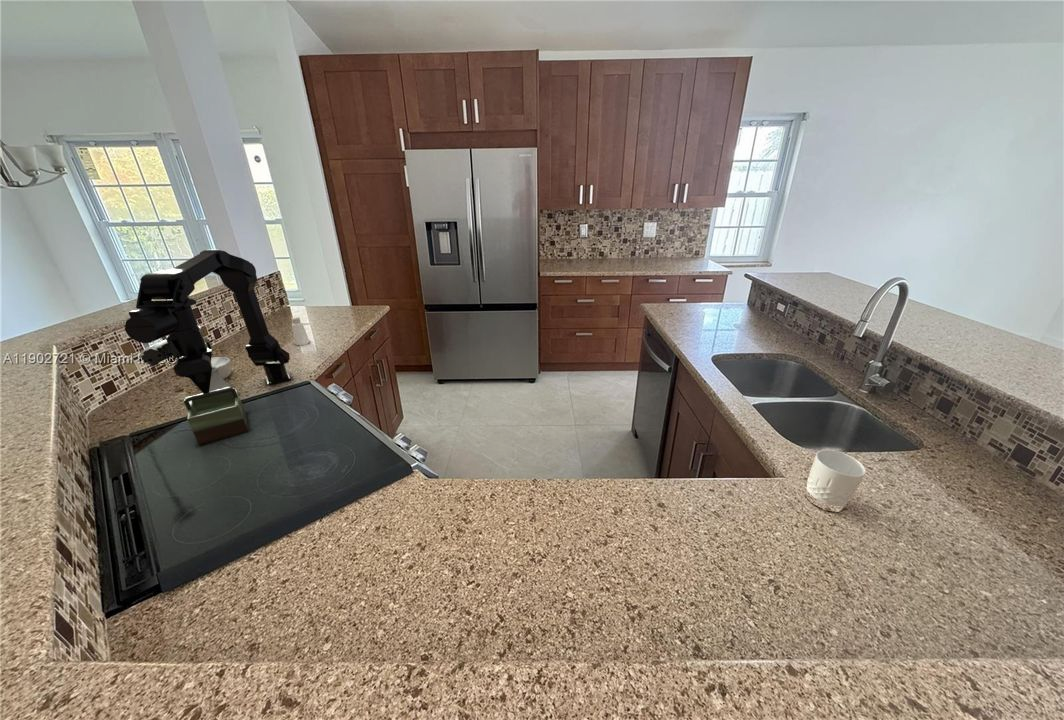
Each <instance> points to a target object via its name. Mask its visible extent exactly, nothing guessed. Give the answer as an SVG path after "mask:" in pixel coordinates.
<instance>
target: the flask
mask: <svg viewBox="0 0 1064 720" xmlns="http://www.w3.org/2000/svg"><path fill="white" fill-rule="evenodd" d="M218 369H219V368H218V367H212V374H211V382H210V390H209V392H211V391H215V390H219V389H223V388H228V387H231V385H230V384H228V383H227V381H225V379H223V378H222V377H221V375H220V374H219V372H218Z"/></svg>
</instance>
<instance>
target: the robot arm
mask: <svg viewBox="0 0 1064 720" xmlns="http://www.w3.org/2000/svg"><path fill="white" fill-rule="evenodd" d="M210 274H215V275H217V276H218V277H220V280H221V282H222V284H223V285H224V286H225V288H227V289H228V290H230V291H231V292H232V293H233V294H234V297H235V300H236V303H237V305H238V309H239V310H240V311H239V312H240V313H241V316H242V319H243V322H244V324H245V327H246V330H247V332H248V335H249V341H248V343H247V345H245V350H246V352H247V356H248V357H247V358H248V359H250V360H251V362H252V363H253V364H254V366H255V367H263V370H264V372H265V380H266V384H267V386H271V385H275V384H281V383H283V382H288V381H291V376H290V374H289V372H288V371H287V368H286V364H288V363H290V359H291V357H290V353H289V352H288V351H287V350H285V349H283V348H282V347H281V345H280V343H279V340H277V339H276V338H275V337H274V336H272V335H271V334H270V333H269V330H268V326H267V324H266V321H265V317H264V315H263V311H262V309H261V306H260V303H259V300H258V297H257V295H256V291H255V287H256V285H257V282H258V276H257V269H256V267H255V265H254V264H253V263H252V262H250V261H249V260H247V259H244V258H242V257H239V256H236V255H233V254H230V253H229V252H227V251H226V250H222V249H204V250H201V251H200V252H199V253H198V254H196V255H194V256H193V257H190V258H189V259H188V260H185V261H183V262H182V263H180V264H178V265H177V266H175V267H173V268H169V269H164V270H158V271H157V270H156V271H153V272H149V273H146V274H143V275H142V276H141V278H140V283H139V286H138V287H139V288H138V292H137V297H136V298H137V299H136V304H135V308H136V309H137V310H131V311H129V312H128V315H129V318H128V319H127V320H126V321H125V323H124V331H125V334H127V336H128V337H130V339H132V340H134V341H135V342H137V343H141V344H151V343H153V342H155V341H157V340H160V339H162V338H164V337H166V338H165V339H164V340H161V341H159V342H157V343H155V344H153V345H151V346H148V347H146V348H144V349H142V351H141V352H140V354H139V357H140V358H142V362H143V363H144V364H149V366H150V367H155V366H157V365H159V364H160V363H162V362H164V361H165V360H167V359H169V358H171V357H173V358H174V359H176V360H175V362H174V363H173V367H172V369H173V372H174V374H175V375H176V376H177V377H180V378H187V379H189V380H191V382H193V384H194V385H195V386H196V387H197V388H198V389H199V390H200V392H201V394H202V393H203V394H205V393H209V390H210V382H211V374H212V364H211V358H213V346H212V343H211V340H210V339H209V338H207V337H205V336H204V335H203V333H202V331H203V330H202V328H201V326H199V323H198V321H197V318H196V315H195V313H194V310H193V308H192V305H196V304H197V303H198V302H197V300H196V299H194V298H192V297H189V296H191V294H192V293H193V292H194V291H195V289H196V287H195V285H196V283H197V282H199V281H200V280H202V279H204V278H205V277H207V276H208V275H210Z"/></svg>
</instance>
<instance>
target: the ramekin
mask: <svg viewBox="0 0 1064 720" xmlns="http://www.w3.org/2000/svg"><path fill="white" fill-rule="evenodd" d="M211 364H212V367H218V368H219V369H218V372H219V374H220V375H221V377H222V378H223V380H225V379H227V378H228V377H230V375H231V373H232V369H231V359H230V358H228V357H225V356H215V357H213V356H212V358H211Z"/></svg>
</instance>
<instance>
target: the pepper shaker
mask: <svg viewBox="0 0 1064 720" xmlns="http://www.w3.org/2000/svg"><path fill="white" fill-rule="evenodd" d="M291 321H292V324H291V328H292V334H293V335H292V336H293V341H294V345H295V346H305V345H307V344H309V343H310V339H309V338H310V337H309V336H308V334H307V331H306V328H305V325H304V323H303V322H301V317H300V316H293V317H291Z"/></svg>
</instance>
